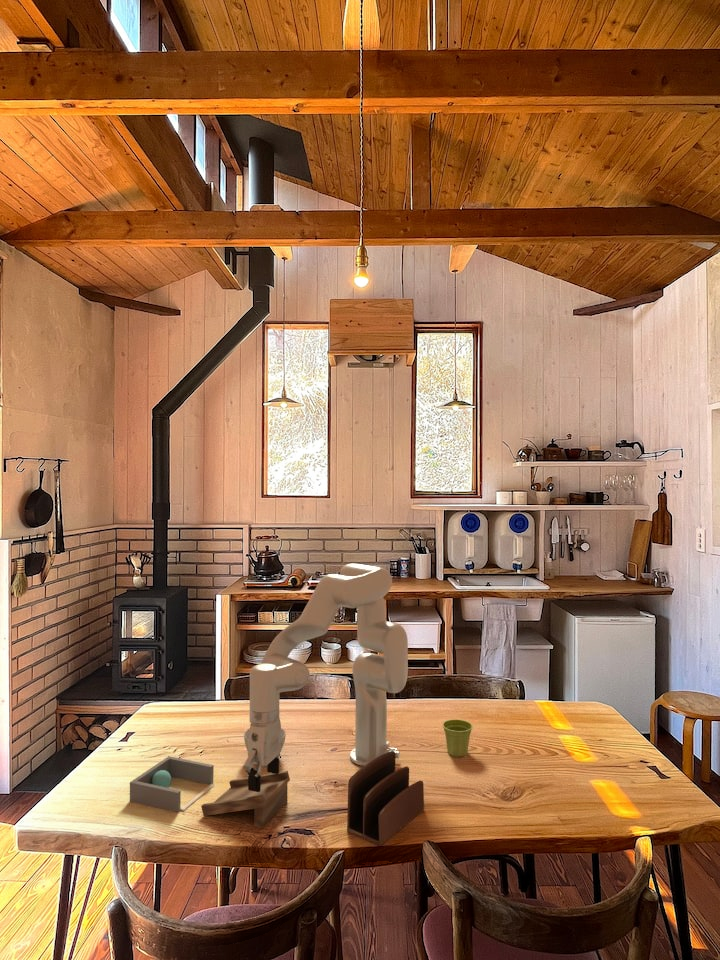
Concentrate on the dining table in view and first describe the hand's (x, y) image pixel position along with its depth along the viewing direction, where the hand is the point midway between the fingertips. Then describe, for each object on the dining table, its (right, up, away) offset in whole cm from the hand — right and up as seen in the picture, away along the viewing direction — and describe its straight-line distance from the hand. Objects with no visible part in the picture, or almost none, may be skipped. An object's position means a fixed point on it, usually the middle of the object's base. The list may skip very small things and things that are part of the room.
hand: (264, 781), depth 155 cm
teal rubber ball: (-27, -5, +10) cm, 30 cm away
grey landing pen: (-26, -8, +9) cm, 28 cm away
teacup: (-4, -8, +30) cm, 32 cm away
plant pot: (+55, -8, +34) cm, 65 cm away
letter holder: (+31, -9, -3) cm, 32 cm away
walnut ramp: (-5, -8, +2) cm, 9 cm away
